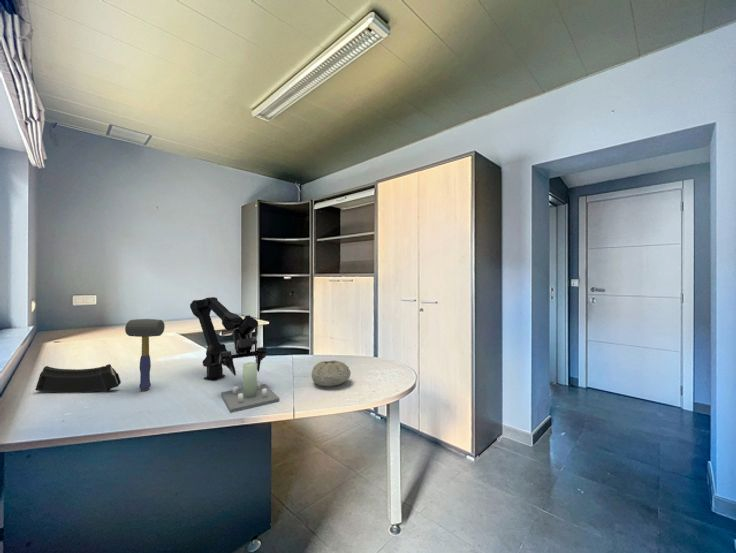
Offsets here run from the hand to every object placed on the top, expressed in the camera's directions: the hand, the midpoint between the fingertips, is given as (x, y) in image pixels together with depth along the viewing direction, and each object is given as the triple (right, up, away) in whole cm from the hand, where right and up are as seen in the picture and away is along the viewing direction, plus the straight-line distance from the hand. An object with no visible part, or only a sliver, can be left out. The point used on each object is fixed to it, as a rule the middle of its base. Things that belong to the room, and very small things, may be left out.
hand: (247, 373), depth 127 cm
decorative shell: (+33, -10, +15) cm, 37 cm away
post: (+2, -8, -3) cm, 9 cm away
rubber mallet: (-44, -8, +3) cm, 45 cm away
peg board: (+2, -9, -3) cm, 10 cm away
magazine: (-69, -8, 0) cm, 70 cm away
